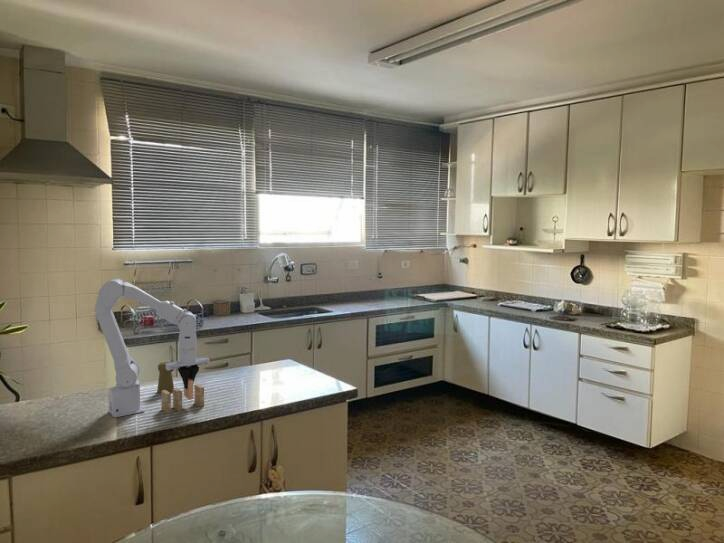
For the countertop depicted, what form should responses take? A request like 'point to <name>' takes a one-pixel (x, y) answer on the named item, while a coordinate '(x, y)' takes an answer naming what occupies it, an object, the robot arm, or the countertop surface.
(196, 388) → the end domino
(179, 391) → the middle domino
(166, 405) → the domino
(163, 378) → the cork
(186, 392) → the domino
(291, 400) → the countertop surface
